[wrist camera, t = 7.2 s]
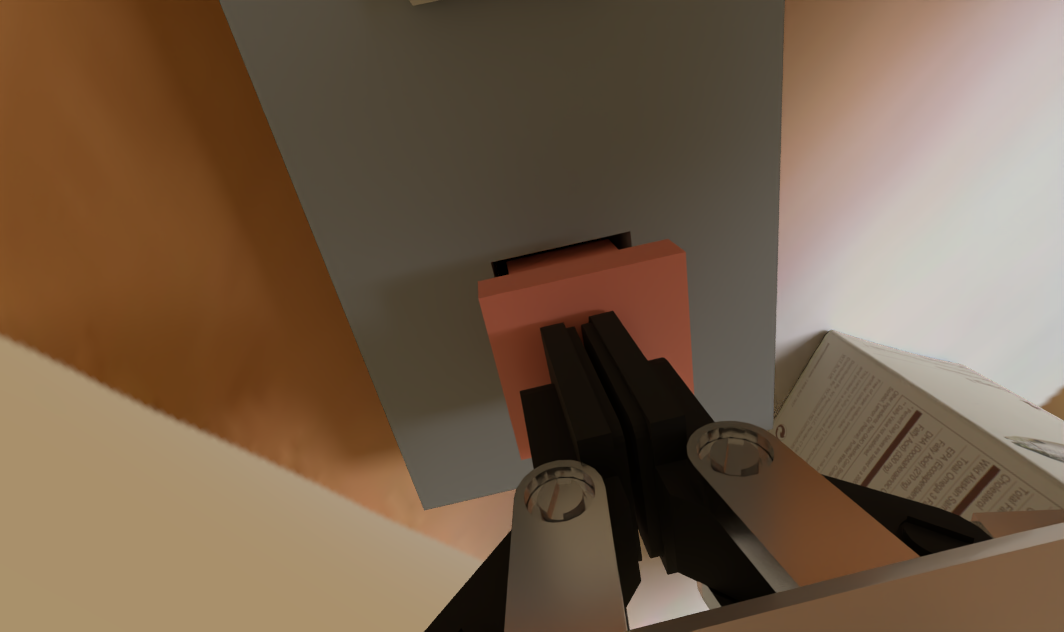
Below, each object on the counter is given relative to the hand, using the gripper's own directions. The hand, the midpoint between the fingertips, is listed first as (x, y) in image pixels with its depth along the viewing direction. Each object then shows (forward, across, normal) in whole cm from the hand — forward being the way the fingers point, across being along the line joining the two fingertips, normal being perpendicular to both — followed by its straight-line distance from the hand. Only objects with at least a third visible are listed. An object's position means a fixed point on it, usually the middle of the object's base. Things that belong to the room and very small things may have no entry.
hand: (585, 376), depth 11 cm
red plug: (+4, 0, 0) cm, 4 cm away
